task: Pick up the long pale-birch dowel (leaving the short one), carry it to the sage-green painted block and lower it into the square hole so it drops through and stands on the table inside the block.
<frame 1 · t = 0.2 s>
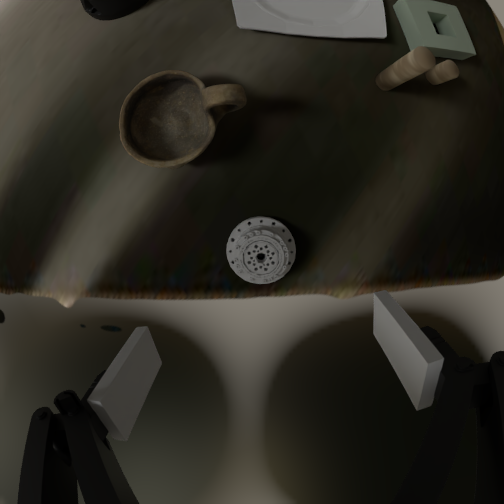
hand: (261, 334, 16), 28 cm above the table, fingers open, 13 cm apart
long dowel: (384, 81, 35), on the table
short dowel: (432, 76, 34), on the table
hole block: (429, 32, 31), on the table
mechanical component: (261, 248, 44), on the table
brown mug: (188, 120, 38), on the table
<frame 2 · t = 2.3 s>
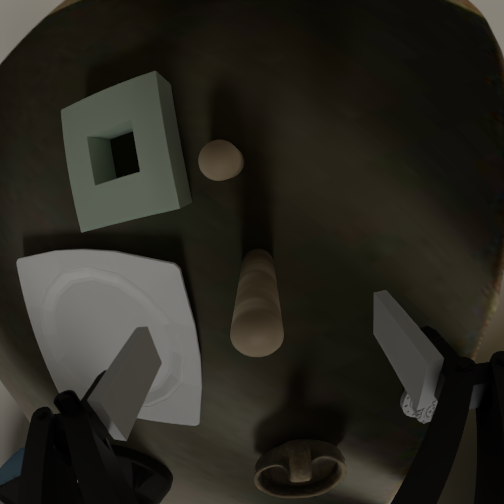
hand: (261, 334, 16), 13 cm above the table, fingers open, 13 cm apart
plate: (109, 339, 32), on the table
long dowel: (257, 263, 28), on the table
short dowel: (227, 162, 26), on the table
hole block: (132, 154, 26), on the table
mechanical component: (428, 386, 34), on the table
brown mug: (297, 445, 37), on the table
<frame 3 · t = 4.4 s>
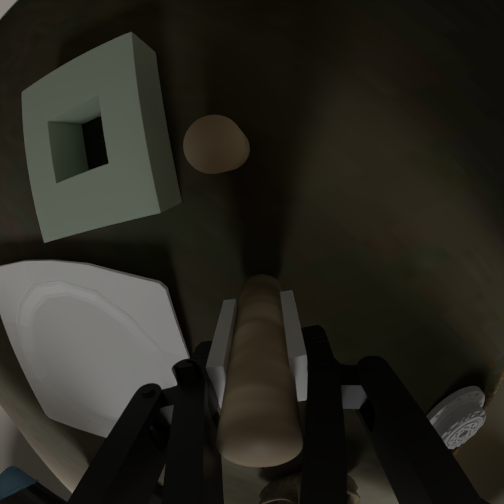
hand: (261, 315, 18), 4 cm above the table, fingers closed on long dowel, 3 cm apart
plate: (93, 360, 27), on the table
long dowel: (261, 293, 21), point 1 cm above the table, touching gripper
short dowel: (228, 149, 19), on the table
hole block: (108, 141, 19), on the table
mechanical component: (450, 411, 27), on the table
brown mug: (307, 472, 31), on the table
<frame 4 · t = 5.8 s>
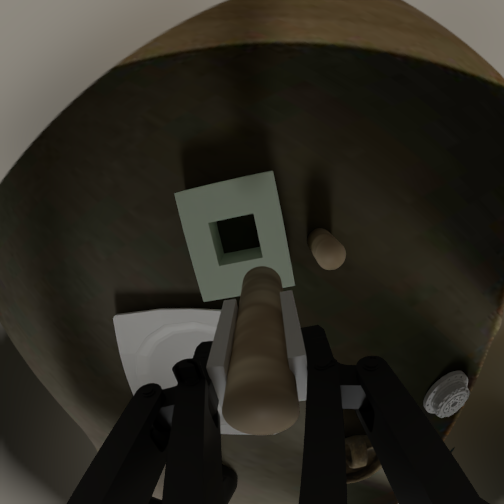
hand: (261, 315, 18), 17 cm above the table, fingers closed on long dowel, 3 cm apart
plate: (204, 374, 40), on the table
long dowel: (262, 284, 22), point 12 cm above the table, touching gripper
short dowel: (319, 240, 34), on the table
hole block: (238, 230, 34), on the table
mechanical component: (444, 389, 41), on the table
brown mug: (347, 440, 45), on the table
when the fingers open (6 cm above the table, at t = 7.7 s): long dowel drops 1 cm, resting in hole block.
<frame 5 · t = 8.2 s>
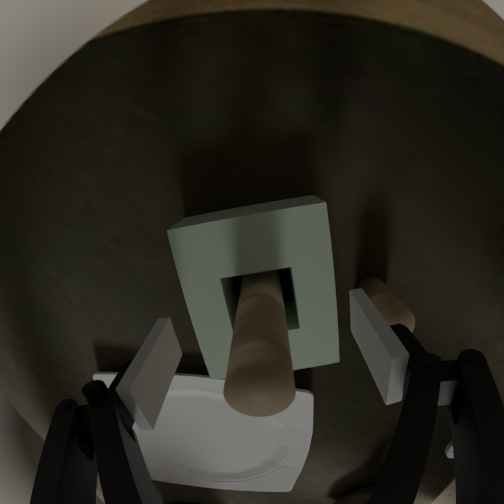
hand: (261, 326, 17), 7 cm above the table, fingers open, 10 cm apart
plate: (207, 435, 30), on the table
long dowel: (261, 279, 24), resting in hole block
short dowel: (370, 293, 24), on the table
hole block: (261, 279, 23), on the table
mechanical component: (467, 434, 32), on the table
brown mug: (363, 487, 35), on the table
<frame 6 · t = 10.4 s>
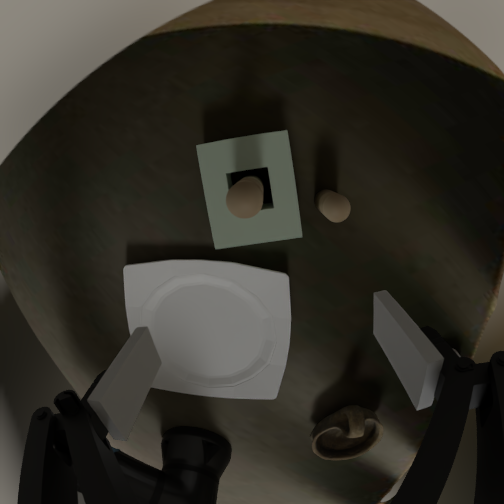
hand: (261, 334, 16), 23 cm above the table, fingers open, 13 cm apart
plate: (207, 331, 43), on the table
long dowel: (251, 186, 36), resting in hole block
short dowel: (325, 201, 36), on the table
hole block: (251, 187, 36), on the table
brown mug: (344, 414, 48), on the table
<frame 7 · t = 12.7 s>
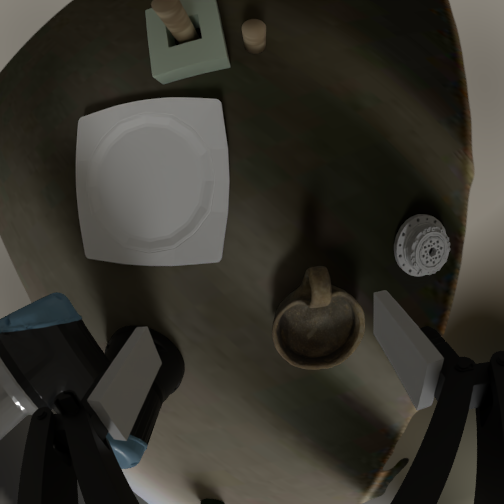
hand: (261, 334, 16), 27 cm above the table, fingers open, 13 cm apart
plate: (148, 182, 40), on the table
wine bottle: (213, 502, 67), on the table
long dowel: (190, 41, 33), resting in hole block
short dowel: (255, 45, 34), on the table
hole block: (190, 41, 33), on the table
mechanical component: (418, 243, 41), on the table
brown mug: (313, 304, 45), on the table
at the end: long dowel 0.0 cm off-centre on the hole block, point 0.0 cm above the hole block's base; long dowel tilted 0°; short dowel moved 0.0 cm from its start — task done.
